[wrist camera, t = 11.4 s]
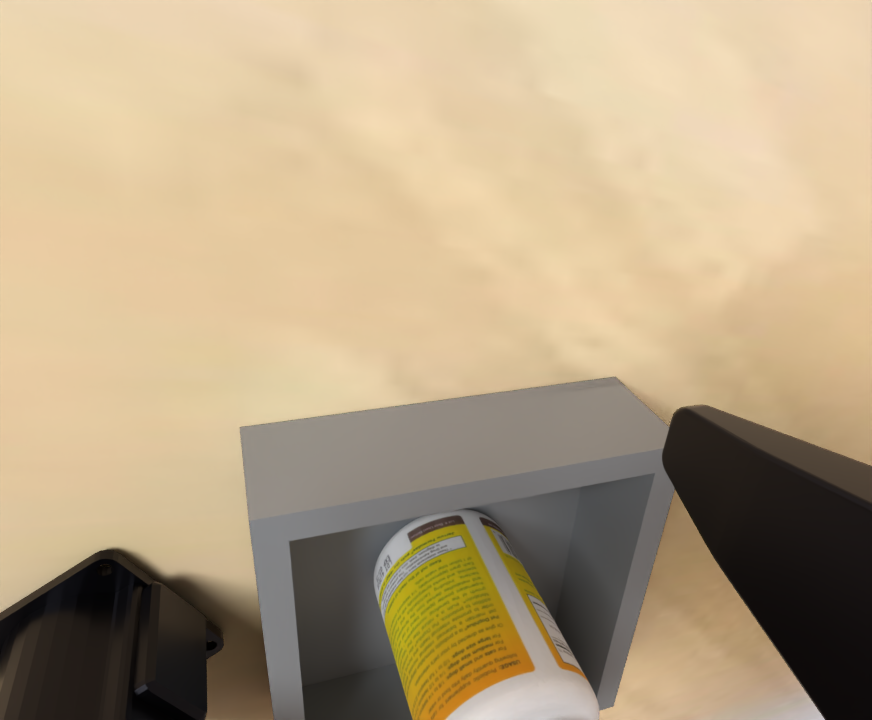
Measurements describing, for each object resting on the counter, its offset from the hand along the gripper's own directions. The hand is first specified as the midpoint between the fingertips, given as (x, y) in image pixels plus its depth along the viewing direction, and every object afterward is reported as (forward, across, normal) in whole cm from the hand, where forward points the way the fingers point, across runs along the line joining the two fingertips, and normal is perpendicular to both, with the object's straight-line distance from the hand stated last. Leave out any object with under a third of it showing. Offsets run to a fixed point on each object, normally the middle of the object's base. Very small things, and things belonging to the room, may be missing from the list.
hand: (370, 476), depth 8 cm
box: (+12, -6, +14) cm, 19 cm away
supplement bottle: (+12, -6, +14) cm, 19 cm away
